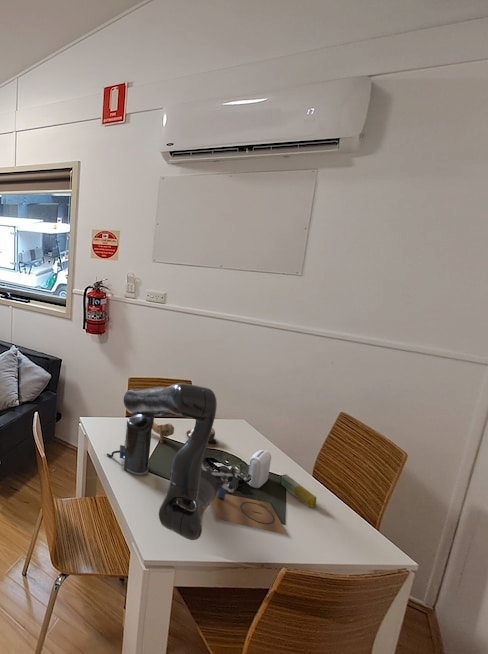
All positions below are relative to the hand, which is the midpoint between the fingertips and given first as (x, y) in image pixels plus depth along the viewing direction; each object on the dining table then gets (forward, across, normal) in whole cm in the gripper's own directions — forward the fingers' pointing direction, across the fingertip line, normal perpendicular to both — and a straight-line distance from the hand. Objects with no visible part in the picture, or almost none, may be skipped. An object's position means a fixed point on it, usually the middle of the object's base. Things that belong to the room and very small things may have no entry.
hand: (217, 464), depth 123 cm
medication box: (+33, -19, +20) cm, 43 cm away
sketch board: (+10, -8, +19) cm, 23 cm away
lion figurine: (+32, +31, +20) cm, 48 cm away
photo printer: (+31, -7, +20) cm, 37 cm away
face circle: (+12, -11, +19) cm, 25 cm away
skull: (+45, +16, +20) cm, 52 cm away
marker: (+11, 0, +19) cm, 22 cm away
